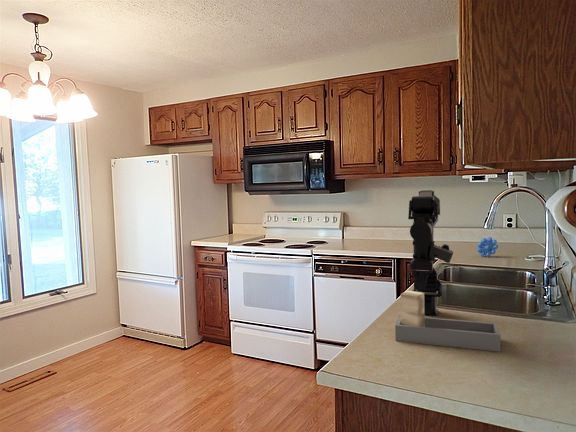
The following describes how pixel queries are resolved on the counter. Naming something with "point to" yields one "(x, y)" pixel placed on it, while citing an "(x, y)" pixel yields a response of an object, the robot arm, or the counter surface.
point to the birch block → (412, 309)
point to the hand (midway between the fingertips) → (423, 287)
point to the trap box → (451, 333)
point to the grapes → (487, 246)
